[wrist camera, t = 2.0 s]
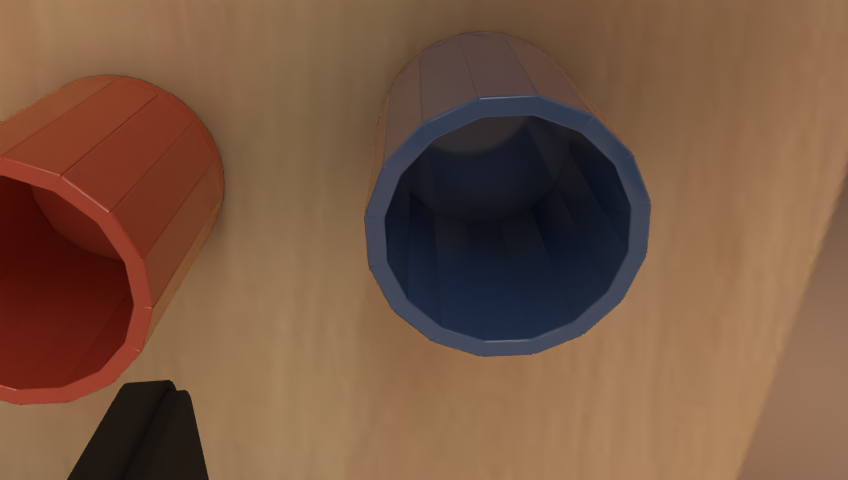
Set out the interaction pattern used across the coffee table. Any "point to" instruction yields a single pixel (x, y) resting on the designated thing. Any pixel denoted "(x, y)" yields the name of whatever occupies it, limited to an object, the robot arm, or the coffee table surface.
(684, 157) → the coffee table surface
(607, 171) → the blue cup
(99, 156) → the red cup
